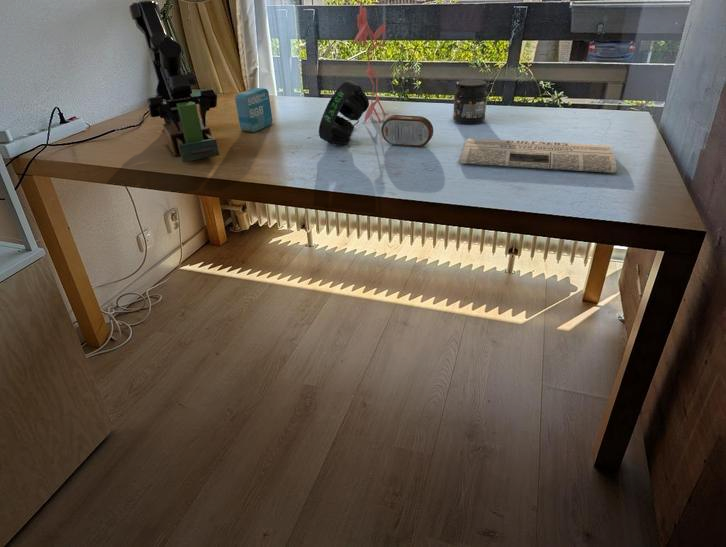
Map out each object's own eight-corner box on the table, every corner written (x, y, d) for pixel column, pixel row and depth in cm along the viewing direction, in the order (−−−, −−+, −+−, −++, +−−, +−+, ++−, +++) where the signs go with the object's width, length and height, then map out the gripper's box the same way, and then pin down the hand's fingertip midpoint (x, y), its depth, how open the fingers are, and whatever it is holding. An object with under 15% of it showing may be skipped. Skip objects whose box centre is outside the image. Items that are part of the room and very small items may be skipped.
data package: (251, 133, 161) (245, 95, 155) (240, 132, 163) (234, 94, 157) (273, 123, 170) (268, 87, 163) (262, 122, 172) (257, 86, 165)
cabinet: (214, 149, 149) (209, 128, 145) (175, 156, 144) (170, 134, 141) (204, 138, 159) (199, 118, 155) (167, 144, 155) (162, 124, 151)
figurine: (391, 108, 181) (389, 0, 162) (378, 128, 159) (375, 6, 141) (350, 108, 184) (344, 1, 165) (333, 127, 162) (323, 8, 144)
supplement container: (457, 115, 169) (460, 78, 162) (488, 117, 165) (491, 80, 158) (448, 123, 161) (450, 85, 154) (480, 126, 157) (483, 86, 150)
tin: (433, 145, 143) (434, 115, 138) (430, 148, 140) (431, 118, 136) (383, 142, 147) (383, 113, 143) (380, 145, 145) (379, 116, 140)
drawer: (222, 158, 138) (219, 142, 136) (186, 166, 134) (181, 149, 132) (209, 144, 150) (205, 128, 148) (175, 150, 146) (171, 134, 144)
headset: (351, 159, 161) (332, 142, 132) (316, 138, 162) (289, 118, 134) (379, 110, 158) (365, 82, 130) (343, 89, 160) (322, 58, 131)
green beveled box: (187, 149, 144) (176, 103, 137) (202, 146, 145) (192, 101, 138) (190, 153, 140) (179, 106, 133) (206, 150, 142) (195, 104, 135)
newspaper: (459, 166, 127) (460, 155, 126) (468, 143, 143) (469, 133, 141) (614, 175, 117) (617, 164, 116) (606, 149, 133) (608, 139, 131)
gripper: (137, 66, 130) (155, 117, 127) (208, 58, 137) (226, 106, 135) (142, 92, 140) (158, 140, 138) (207, 83, 147) (224, 128, 145)
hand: (192, 128), depth 138 cm, fingers open, 7 cm apart
